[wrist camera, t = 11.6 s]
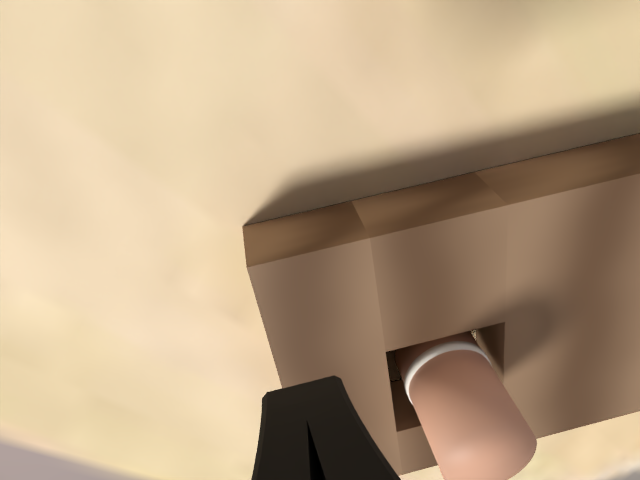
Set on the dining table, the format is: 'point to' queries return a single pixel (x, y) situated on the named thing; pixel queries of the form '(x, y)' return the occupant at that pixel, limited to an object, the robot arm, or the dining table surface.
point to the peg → (465, 409)
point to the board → (467, 289)
